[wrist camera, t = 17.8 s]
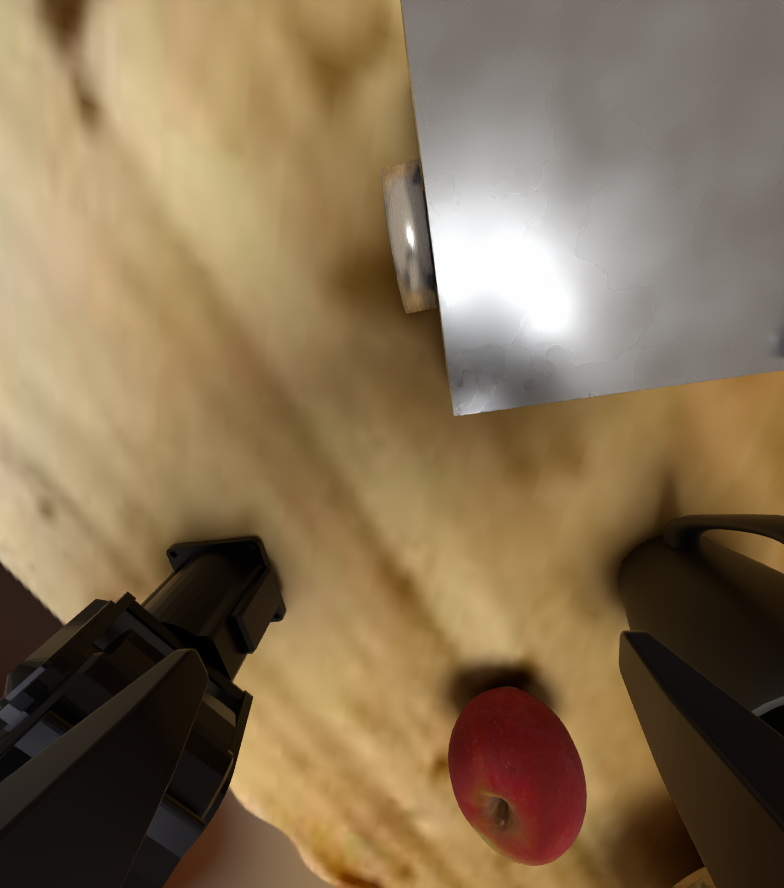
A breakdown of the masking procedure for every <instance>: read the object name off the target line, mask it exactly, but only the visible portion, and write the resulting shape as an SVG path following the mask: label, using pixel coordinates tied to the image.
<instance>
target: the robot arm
mask: <svg viewBox="0 0 784 888" xmlns="http://www.w3.org/2000/svg"><path fill="white" fill-rule="evenodd" d="M251 544H253V545H254V546H255V547H253V546H252V545H251ZM166 553H167V556H168V558H169V561H170V563H171V565H172V567H173V569H174V572H173V573H172V574H171V575H170V576H169V577H168V578H167V579H166V580H165V581H164V582H163V583H162V584H161V585H160V586H159V587H158V588H157V589H156V590H155V591H154V592H153V593H152V594H151V595H150V596H149V597H148V598H147V599H146V600H145V601H144V602H143V603H142V604H141V605H140V604H139V603H138V602H136V601H135V599H136V598H135V597H134V596H133V595H131V594H130V593H129V592H126V593H125V594H124V595H123V596H122V597H120V598H119V599H118V600H117V601H116V602H113V601H112V600H110V601H105V600H99V599H95V600H94V601H93V602H92V603H91V604H90V605H88V606H87V607H86V608H85V609H84V610H83V611H81V612H80V613H79V614H78V615H77V616H76V617H74V618H73V619H72V620H71V621H70V622H69V623H67V624H66V625H65V626H64V627H63V628H62V629H60V630H59V631H58V632H57V633H56V634H55V635H54V636H53V637H51V638H50V639H49V640H48V641H47V642H45V643H44V644H43V645H42V646H41V647H40V648H39V649H37V650H36V651H35V652H34V653H33V654H32V655H30V656H29V657H28V658H27V659H26V660H25V661H23V662H22V663H21V664H20V665H19V666H18V667H17V668H15V669H14V670H13V671H12V672H11V673H10V674H8V676H7V682H6V687H5V692H4V697H3V698H2V699H1V700H0V888H162V887H163V886H164V884H165V882H166V881H167V879H168V878H169V876H170V875H171V873H172V872H173V870H174V869H175V867H176V866H177V864H178V862H179V861H180V859H181V858H182V857H183V855H184V854H185V853H186V851H187V850H188V849H189V848H190V847H191V846H192V845H193V843H194V842H195V841H196V840H197V839H198V838H199V836H200V835H201V834H202V832H203V831H204V829H205V828H206V827H207V825H208V824H209V822H210V821H211V819H212V818H213V816H214V814H215V813H216V810H217V809H218V807H219V806H220V804H221V801H222V800H223V798H224V796H225V794H226V791H227V789H228V787H229V785H230V782H231V779H232V776H233V773H234V769H235V765H236V761H237V758H238V754H239V750H240V746H241V742H242V738H243V734H244V731H245V727H246V723H247V719H248V715H249V711H250V708H251V704H252V700H253V696H252V695H250V694H249V693H248V692H247V691H246V690H245V691H243V690H241V689H240V688H239V687H238V686H237V685H235V684H234V683H233V680H234V678H235V676H236V674H237V672H238V671H239V669H240V667H241V665H242V663H243V661H244V660H245V658H246V656H247V654H252V653H253V652H254V651H255V650H256V648H257V646H258V644H259V642H260V641H261V639H262V637H263V635H264V633H265V631H266V629H267V627H268V625H269V623H270V622H278V621H281V620H283V618H284V616H285V613H286V611H285V608H284V605H283V602H282V597H281V594H280V591H279V588H278V585H277V582H276V580H275V577H274V574H273V571H272V569H271V568H270V565H269V562H268V559H267V556H266V554H265V551H264V548H263V545H262V542H261V541H260V540H259V539H258V538H256V537H245V538H235V539H224V540H214V541H203V542H193V543H182V544H174V545H172V546H171V547H170V548H169V549H168V550H167V552H166ZM277 613H278V614H277ZM619 668H620V672H621V675H622V678H623V680H624V683H625V686H626V688H627V691H628V693H629V696H630V698H631V701H632V704H633V706H634V709H635V711H636V714H637V716H638V719H639V722H640V724H641V727H642V729H643V732H644V734H645V737H646V740H647V742H648V745H649V747H650V750H651V752H652V755H653V758H654V760H655V762H656V765H657V767H658V770H659V772H660V775H661V777H662V779H663V781H664V783H665V785H666V787H667V790H668V792H669V794H670V796H671V798H672V800H673V802H674V804H675V806H676V808H677V810H678V812H679V814H680V816H681V818H682V820H683V822H684V824H685V826H686V828H687V830H688V832H689V834H690V836H691V838H692V840H693V843H694V845H695V847H696V849H697V851H698V853H699V855H700V857H701V859H702V861H703V863H704V865H705V867H706V869H707V871H708V873H709V875H710V877H711V879H712V881H713V883H714V885H715V887H716V888H784V737H783V736H782V735H781V734H780V733H778V732H777V731H776V730H774V729H773V728H772V727H770V726H769V725H768V724H767V723H765V722H764V721H763V720H761V719H760V718H759V717H757V716H756V715H755V714H754V713H752V712H751V711H750V710H748V709H747V708H746V707H745V706H743V705H742V704H741V703H739V702H738V701H737V700H735V699H734V698H733V697H732V696H730V695H729V694H728V693H726V692H725V691H724V690H722V689H721V688H720V687H719V686H717V685H716V684H715V683H713V682H712V681H711V680H709V679H708V678H707V677H706V676H704V675H703V674H702V673H700V672H699V671H698V670H696V669H695V668H694V667H693V666H691V665H690V664H689V663H687V662H686V661H685V660H683V659H682V658H681V657H680V656H678V655H677V654H676V653H674V652H673V651H672V650H670V649H669V648H668V647H667V646H665V645H664V644H663V643H661V642H660V641H659V640H658V639H656V638H655V637H654V636H652V635H651V634H650V633H648V632H646V631H644V630H630V631H622V632H621V634H620V643H619Z"/></svg>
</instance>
